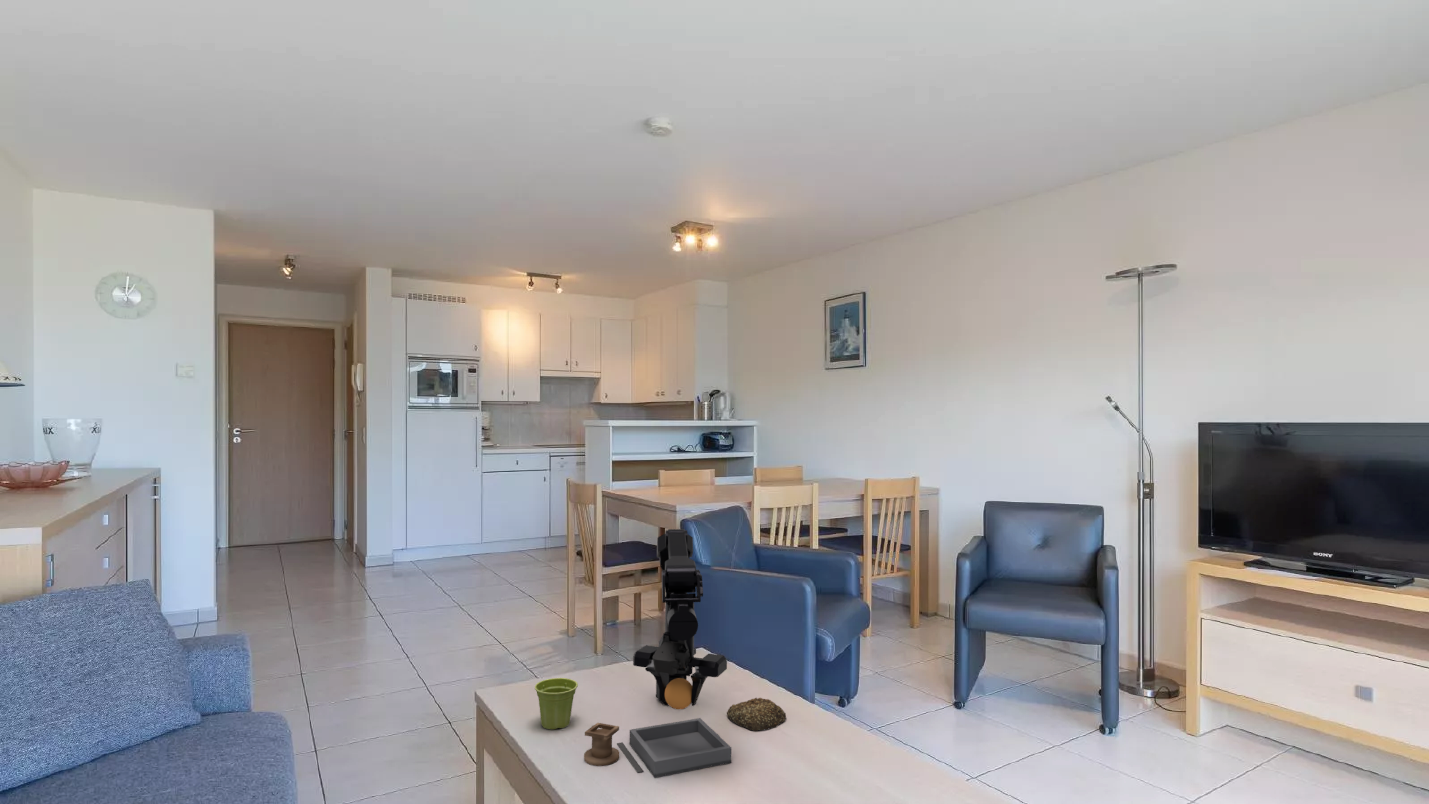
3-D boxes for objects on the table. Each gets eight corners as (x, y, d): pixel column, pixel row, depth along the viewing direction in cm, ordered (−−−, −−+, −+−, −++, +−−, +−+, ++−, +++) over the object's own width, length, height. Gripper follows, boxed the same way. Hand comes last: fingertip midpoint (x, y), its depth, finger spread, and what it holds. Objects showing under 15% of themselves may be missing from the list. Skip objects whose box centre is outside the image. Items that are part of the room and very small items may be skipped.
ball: (689, 681, 158) (681, 667, 154) (702, 703, 154) (694, 689, 150) (664, 697, 157) (656, 683, 153) (677, 720, 153) (668, 707, 149)
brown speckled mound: (750, 736, 163) (750, 712, 163) (719, 716, 173) (719, 694, 173) (797, 723, 169) (797, 701, 170) (764, 705, 180) (764, 684, 180)
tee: (595, 748, 155) (595, 720, 155) (625, 753, 153) (625, 725, 153) (577, 762, 149) (577, 733, 149) (608, 768, 146) (608, 738, 146)
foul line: (622, 743, 158) (622, 742, 158) (643, 772, 145) (643, 771, 145) (616, 744, 157) (616, 743, 157) (637, 773, 144) (637, 772, 144)
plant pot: (585, 719, 170) (585, 680, 170) (563, 736, 161) (564, 695, 161) (548, 713, 173) (549, 675, 173) (525, 729, 164) (526, 689, 164)
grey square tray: (700, 732, 164) (700, 718, 164) (731, 762, 149) (731, 747, 149) (629, 744, 157) (629, 729, 157) (654, 777, 143) (654, 761, 143)
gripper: (620, 631, 150) (619, 710, 149) (707, 642, 143) (707, 725, 143) (645, 617, 160) (645, 691, 160) (728, 627, 153) (727, 704, 153)
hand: (679, 703), depth 153 cm, fingers closed on ball, 6 cm apart
